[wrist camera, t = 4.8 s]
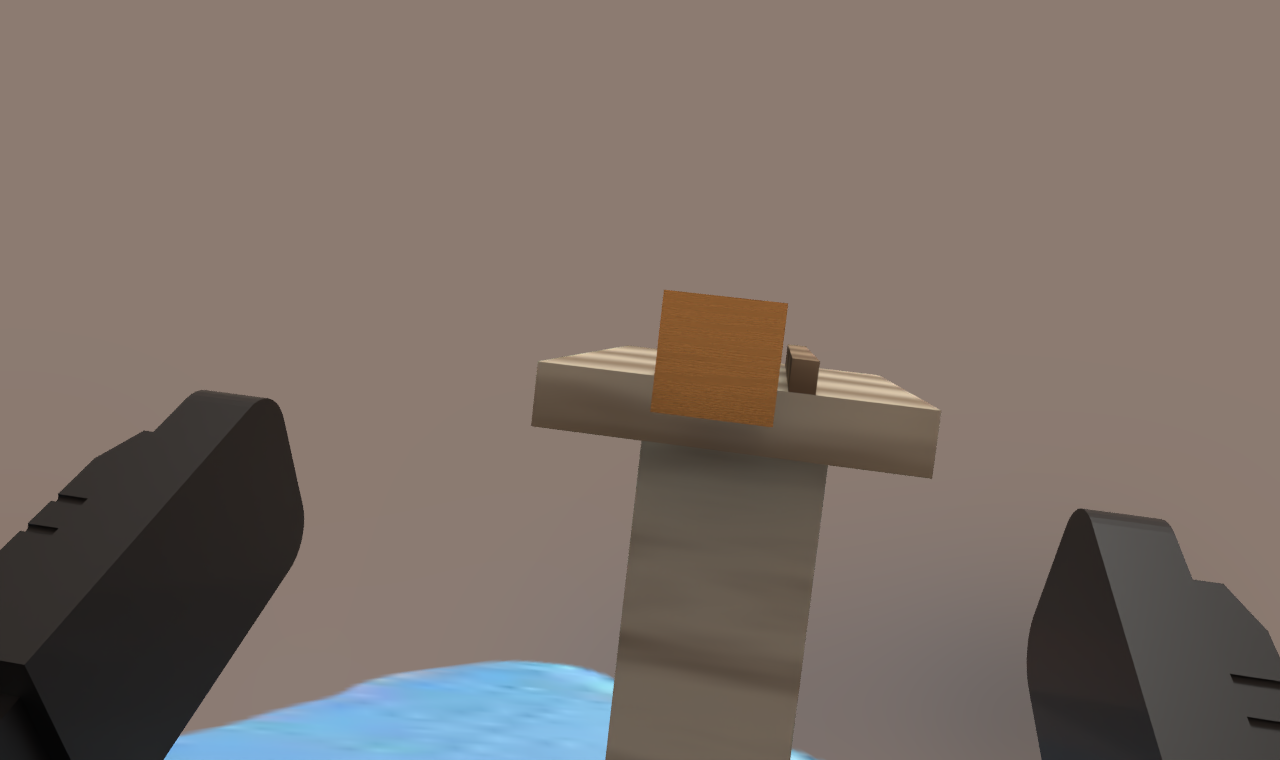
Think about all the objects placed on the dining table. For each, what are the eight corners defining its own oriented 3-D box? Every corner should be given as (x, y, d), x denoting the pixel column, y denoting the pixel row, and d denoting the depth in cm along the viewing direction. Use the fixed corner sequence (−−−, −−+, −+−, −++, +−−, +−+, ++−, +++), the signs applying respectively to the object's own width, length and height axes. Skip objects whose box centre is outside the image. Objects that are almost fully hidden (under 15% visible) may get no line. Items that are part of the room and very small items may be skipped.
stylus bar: (772, 427, 19) (787, 303, 19) (650, 411, 19) (663, 289, 19) (776, 365, 45) (783, 312, 45) (723, 359, 45) (730, 306, 45)
